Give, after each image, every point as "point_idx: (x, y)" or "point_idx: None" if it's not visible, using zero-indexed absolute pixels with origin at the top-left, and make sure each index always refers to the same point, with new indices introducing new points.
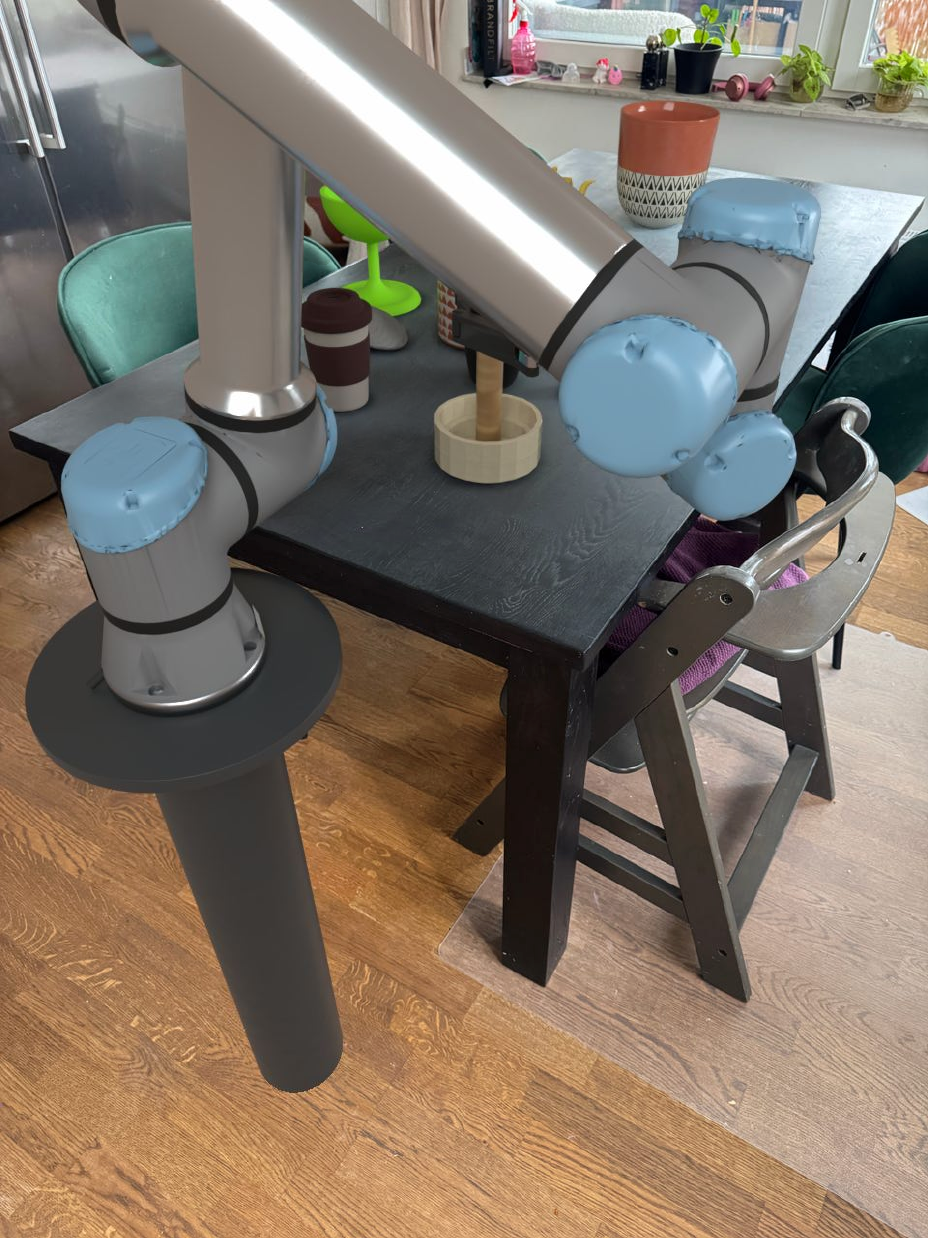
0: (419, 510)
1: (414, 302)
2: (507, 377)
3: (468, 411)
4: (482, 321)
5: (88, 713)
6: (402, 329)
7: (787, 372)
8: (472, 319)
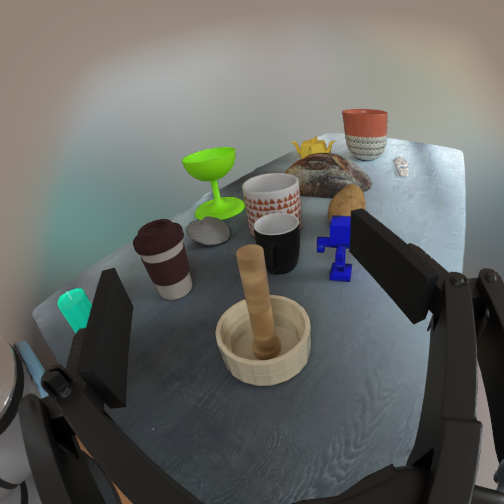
0: (200, 414)
1: (239, 209)
2: (289, 266)
3: None
4: (40, 467)
5: None
6: (227, 229)
7: (462, 245)
8: (29, 449)
